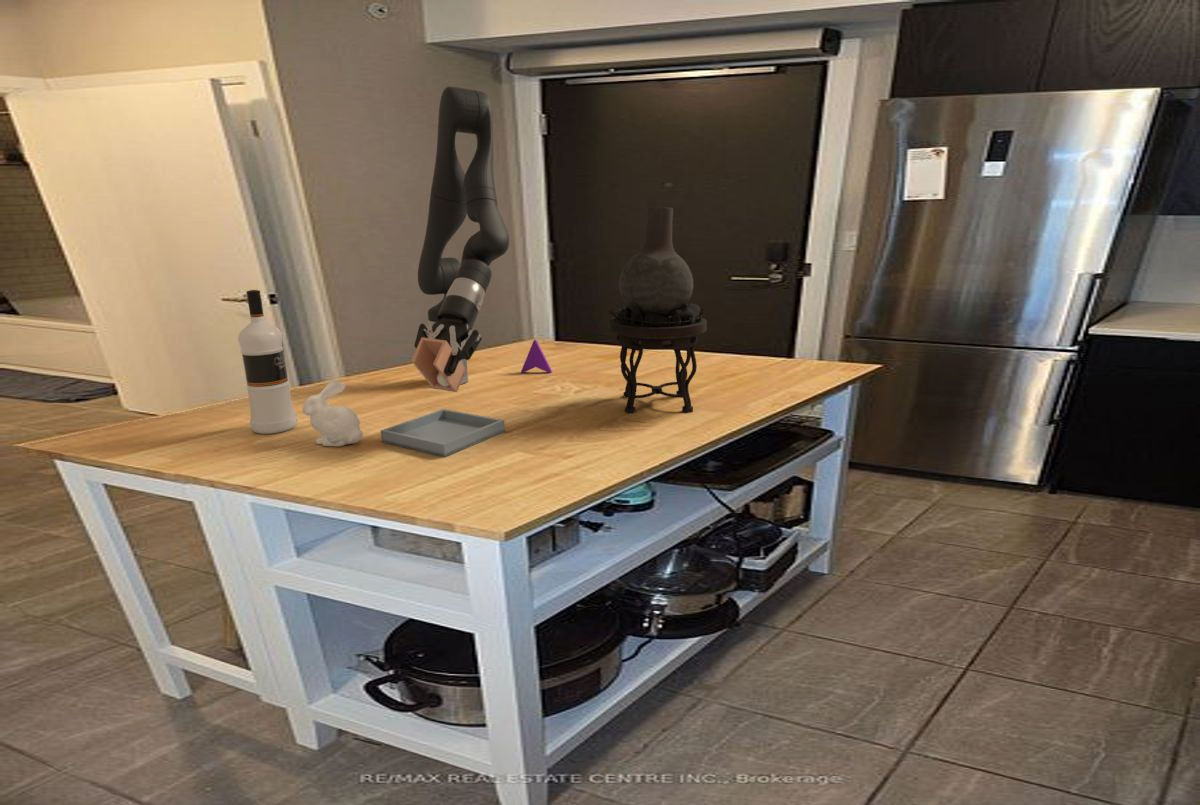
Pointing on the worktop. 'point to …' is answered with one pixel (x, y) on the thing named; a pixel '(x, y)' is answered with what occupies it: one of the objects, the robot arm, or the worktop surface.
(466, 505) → the worktop surface
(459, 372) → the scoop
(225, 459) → the worktop surface
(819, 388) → the worktop surface
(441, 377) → the ball
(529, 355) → the arrowhead
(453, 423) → the tray
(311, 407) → the rabbit
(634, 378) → the brazier
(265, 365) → the vodka
